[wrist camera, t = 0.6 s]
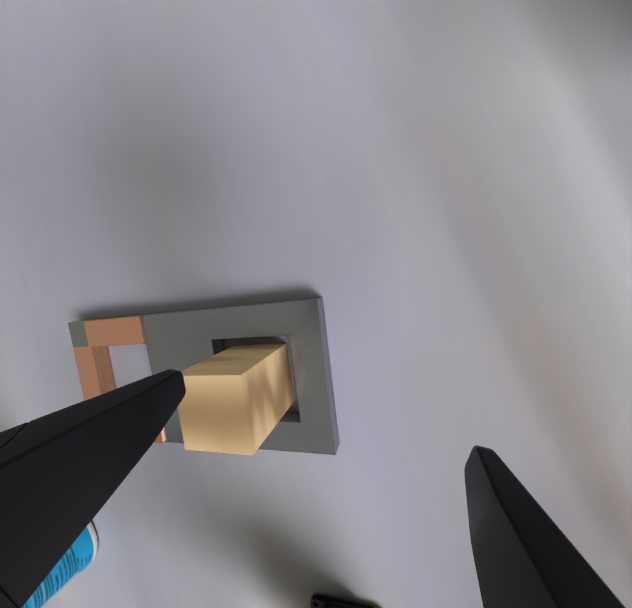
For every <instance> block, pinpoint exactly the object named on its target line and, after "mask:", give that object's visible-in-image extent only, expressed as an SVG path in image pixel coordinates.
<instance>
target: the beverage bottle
mask: <svg viewBox="0 0 632 608" xmlns="http://www.w3.org/2000/svg"><path fill="white" fill-rule="evenodd" d="M97 547H98V541H97V535H96V532H95V529H94V527H93V525H92V523H91V522H90V523H89V524H88V525H87V527H86V528H85V529H84V530H83V532H82V533H81V534H80V535H79V537H78V538H77V539H76V540H75V542H74V543H73V544H72V546H71V547H70V548H69V549H68V551H67V552H66V553H65V554H64V556H63V557H62V558H61V559H60V561H59V562H58V563H57V564H56V566H55V567H54V568H53V569H52V571H51V572H50V573H49V574H48V576H47V577H46V578H45V579H44V581H43V582H42V583H41V584H40V586H39V587H38V588H37V589H36V591H35V592H34V593H33V595H32V596H31V597H30V598H29V600H28V601H27V602H26V603H25V605H24V606H23V607H22V608H42V607H43V606H44V605H45V604H46V603H47V602H48V601H49V600H51V599H52V598H53V597H54V596H55V595H56V594H57V593H58V592H59V591H60V590H61V589H62V588H63V587H64V586H65V585H66V584H67V583H68V582H69V581H70V580H72V579H73V578H74V577H75V576H76V575H77V574H78V573H80V572H81V571H82V570H83V569H84V568H85V567H86V566H87V565H88V564H89V563H90V562H91V561H92V560H93V559H94V557H95V555H96V552H97Z"/></svg>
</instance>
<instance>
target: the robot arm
mask: <svg viewBox="0 0 632 608" xmlns="http://www.w3.org/2000/svg"><path fill="white" fill-rule="evenodd" d="M185 393H186V387H185V382H184V377H183V373H182V372H181V371H178V370H174V369H168V370H165V371H162V372H160V373H157V374H154V375H152V376H149V377H147V378H144V379H141V380H139V381H136V382H133V383H131V384H128V385H125V386H123V387H120V388H117V389H115V390H112V391H109V392H107V393H104V394H101V395H99V396H96V397H93V398H91V399H88V400H85V401H83V402H80V403H77V404H75V405H72V406H69V407H67V408H64V409H61V410H59V411H56V412H53V413H51V414H48V415H45V416H43V417H40V418H37V419H35V420H32V421H30V422H29V423H24V424H21V425H19V426H16V427H13V428H11V429H8V430H5V431H3V432H0V608H22V607H23V606H24V605H25V603H26V602H27V601H28V600H29V598H30V597H31V596H32V595H33V593H34V592H35V591H36V589H37V588H38V587H39V586H40V584H41V583H42V582H43V581H44V579H45V578H46V577H47V576H48V574H49V573H50V572H51V571H52V569H53V568H54V567H55V566H56V564H57V563H58V562H59V561H60V559H61V558H62V557H63V556H64V554H65V553H66V552H67V551H68V549H69V548H70V547H71V546H72V544H73V543H74V542H75V540H76V539H77V538H78V537H79V535H80V534H81V533H82V532H83V530H84V529H85V528H86V527H87V525H88V524H89V523H90V522H91V520H92V519H93V518H94V517H95V515H96V514H97V513H98V512H99V510H100V509H101V508H102V507H103V505H104V504H105V503H106V502H107V500H108V499H109V498H110V497H111V495H112V494H113V493H114V491H115V490H116V489H117V488H118V486H119V485H120V484H121V483H122V481H123V480H124V479H125V478H126V476H127V475H128V474H129V473H130V471H131V470H132V469H133V468H134V466H135V465H136V464H137V463H138V461H139V460H140V459H141V458H142V456H143V455H144V454H145V453H146V451H147V450H148V449H149V448H150V446H151V445H152V444H153V442H154V441H155V440H156V438H157V437H158V436H159V434H160V433H161V431H162V430H163V428H164V427H165V425H166V424H167V422H168V421H169V419H170V418H171V416H172V415H173V413H174V412H175V410H176V409H177V407H178V406H179V404H180V403H181V401H182V400H183V398H184V396H185ZM465 485H466V495H467V506H468V517H469V528H470V537H471V544H472V550H473V556H474V561H475V566H476V571H477V577H478V582H479V587H480V592H481V597H482V602H483V607H484V608H626V607H625V606H624V605H623V604H622V603H621V601H620V600H619V599H618V598H617V597H616V595H615V594H614V593H613V592H612V591H611V589H610V588H609V587H608V586H607V585H606V584H605V582H604V581H603V580H602V579H601V578H600V576H599V575H598V574H597V573H596V572H595V570H594V569H593V568H592V567H591V566H590V564H589V563H588V562H587V561H586V560H585V559H584V557H583V556H582V555H581V554H580V553H579V551H578V550H577V549H576V548H575V547H574V545H573V544H572V543H571V542H570V541H569V539H568V538H567V537H566V536H565V535H564V534H563V532H562V531H561V530H560V529H559V528H558V526H557V525H556V524H555V523H554V522H553V520H552V519H551V518H550V517H549V516H548V515H547V513H546V512H545V511H544V510H543V509H542V507H541V506H540V505H539V504H538V503H537V501H536V500H535V499H534V498H533V497H532V495H531V494H530V493H529V492H528V491H527V490H526V488H525V487H524V486H523V485H522V484H521V482H520V481H519V480H518V479H517V478H516V476H515V475H514V474H513V473H512V472H511V471H510V469H509V468H508V467H507V466H506V465H505V463H504V462H503V461H502V460H501V459H500V457H499V456H498V455H497V454H496V453H495V452H494V451H493V450H492V449H489V448H485V447H481V446H474V447H473V449H472V451H471V453H470V456H469V458H468V460H467V463H466V465H465ZM310 604H311V608H371V607H367V606H362V605H358V604H354V603H350V602H346V601H341V600H337V599H333V598H329V597H324V596H320V595H315V594H314V595H313V596H312V598H311V603H310Z"/></svg>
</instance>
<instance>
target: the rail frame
mask: <svg viewBox="0 0 632 608" xmlns="http://www.w3.org/2000/svg"><path fill="white" fill-rule="evenodd" d="M68 325H69V329H70V334H71V339H72V343H73V348H74V353H75V357H76V362H77V367H78V371H79V376H80V381H81V385H82V390H83V395H84V399H85V400H88V399H91V398H93V397H96V396H99V395H101V394H104V393H107V392H109V391H112V390H115V389H116V387H115V382H114V377H113V372H112V367H111V362H110V357H109V352H108V347H107V346H111V345H130V344H145V343H146V345H147V350H148V355H149V361H150V366H151V371H152V375H154V374H157V373H160V372H162V371H165V370H168V369H174V370H178V371H183V370H185V369H187V368H189V367H191V366H193V365H195V364H197V363H199V362H201V361H204V360H206V359H208V358H210V357H212V356H214V355H216V354H218V353H220V352H222V351H224V350H225V349H224V343H223V339H229V338H247V337H266V336H284V335H289V337H290V344H291V352H292V360H293V367H294V375H295V382H296V390H297V398H298V405H299V413H295V412H286V413H285V414H284V415H283V417H282V418H281V419H280V421H279V422H278V423H277V424H276V426H275V427H274V428H273V430H272V431H271V432H270V434H269V435H268V436H267V438H266V439H265V440H264V442H263V443H262V444H261V446H260V447H259V448H258V449H266V450H278V451H291V452H304V453H317V454H329V455H336V452H337V449H338V446H339V435H338V426H337V418H336V409H335V401H334V392H333V384H332V375H331V367H330V358H329V350H328V341H327V333H326V324H325V316H324V307H323V299H322V297H319V298H309V299H299V300H288V301H278V302H267V303H257V304H246V305H236V306H225V307H215V308H204V309H194V310H183V311H173V312H162V313H152V314H142V315H131V316H121V317H110V318H100V319H89V320H81V321H75V322H70V323H68ZM154 442H159V443H163V442H177V443H184V440H183V435H182V429H181V424H180V418H179V412H178V407H177V409H176V410H175V412H174V413H173V415H172V416H171V418H170V419H169V421H168V422H167V424H166V425H165V427H164V428H163V430H162V431H161V433H160V434H159V436H158V437H157V438H156V440H155V441H154Z"/></svg>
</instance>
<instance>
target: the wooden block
mask: <svg viewBox="0 0 632 608" xmlns="http://www.w3.org/2000/svg"><path fill="white" fill-rule="evenodd" d="M181 372H182V373H183V377H184V382H185V387H186V393H185V396H184V398H183V400H182V401H181V403H180V404H179V406H178V412H179V418H180V424H181V429H182V435H183V440H184V446H185V450H196V451H208V452H219V453H231V454H242V455H254V453H255V452H256V451H257V450H258V448H259V447H260V446H261V444H262V443H263V442H264V440H265V439H266V438H267V436H268V435H269V434H270V432H271V431H272V430H273V428H274V427H275V426H276V424H277V423H278V422H279V421H280V419H281V418H282V417H283V415H284V414H285V413H286V411H287V410H288V409H289V407H290V406H291V405H292V403H293V402H294V395H293V387H292V380H291V372H290V365H289V357H288V350H287V343H279V344H258V345H236V346H232V347H230V348H228V349H226V350H224V351H222V352H220V353H218V354H216V355H214V356H212V357H210V358H208V359H206V360H204V361H201V362H199V363H197V364H195V365H193V366H191V367H189V368H187V369H185V370H183V371H181Z"/></svg>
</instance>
